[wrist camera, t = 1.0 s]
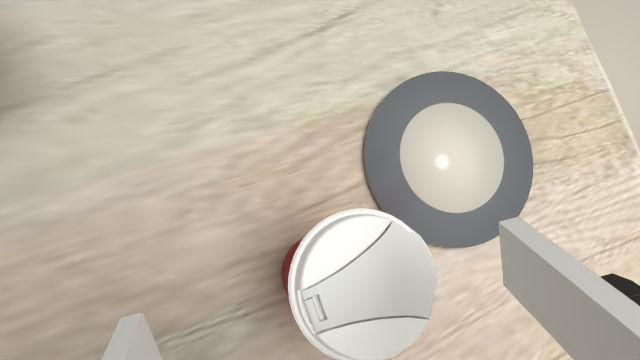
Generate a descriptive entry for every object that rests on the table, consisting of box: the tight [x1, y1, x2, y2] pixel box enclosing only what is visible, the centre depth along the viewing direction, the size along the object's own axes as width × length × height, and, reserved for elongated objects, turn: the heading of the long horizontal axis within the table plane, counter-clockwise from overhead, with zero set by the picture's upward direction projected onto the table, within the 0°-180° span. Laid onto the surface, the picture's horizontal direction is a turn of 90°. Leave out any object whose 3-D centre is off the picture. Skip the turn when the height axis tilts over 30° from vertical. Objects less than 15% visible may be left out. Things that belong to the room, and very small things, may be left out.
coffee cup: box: [282, 208, 436, 360], centre depth 30 cm, size 8×8×15 cm
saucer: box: [363, 71, 533, 248], centre depth 41 cm, size 16×16×1 cm
